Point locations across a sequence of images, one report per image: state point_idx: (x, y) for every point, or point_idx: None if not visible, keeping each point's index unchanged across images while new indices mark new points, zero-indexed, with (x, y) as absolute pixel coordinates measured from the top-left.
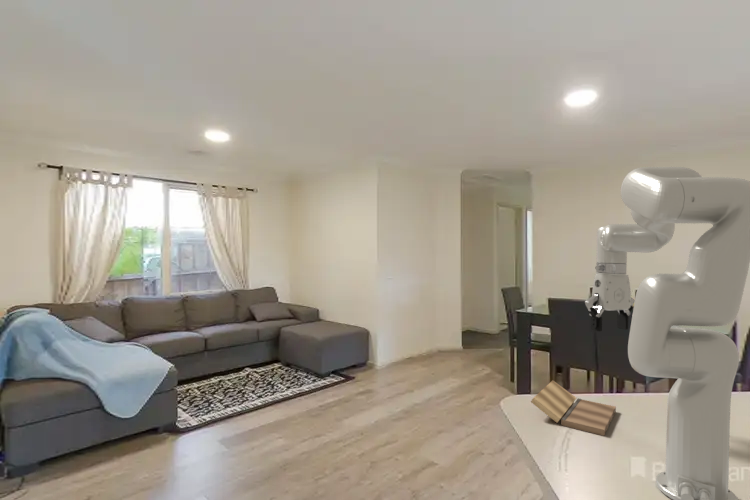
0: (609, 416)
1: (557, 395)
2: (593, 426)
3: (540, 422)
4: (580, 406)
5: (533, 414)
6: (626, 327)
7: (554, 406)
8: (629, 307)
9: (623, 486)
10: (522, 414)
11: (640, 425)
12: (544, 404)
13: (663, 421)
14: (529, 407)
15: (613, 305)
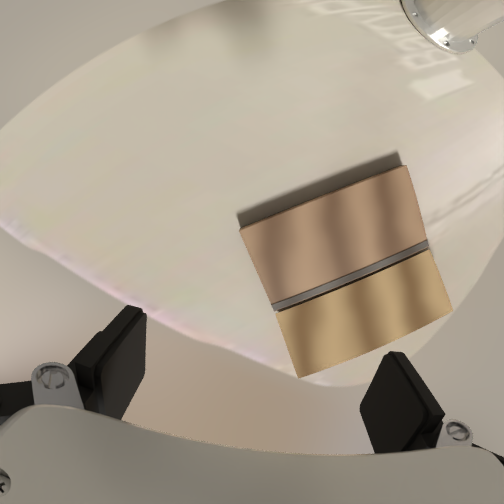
0: (323, 200)
1: (353, 322)
2: (409, 188)
3: None
4: (322, 275)
5: None
6: (136, 315)
7: (409, 285)
8: (49, 409)
9: (496, 83)
10: None
11: (266, 152)
12: (438, 290)
13: (189, 140)
14: None
15: (421, 498)
